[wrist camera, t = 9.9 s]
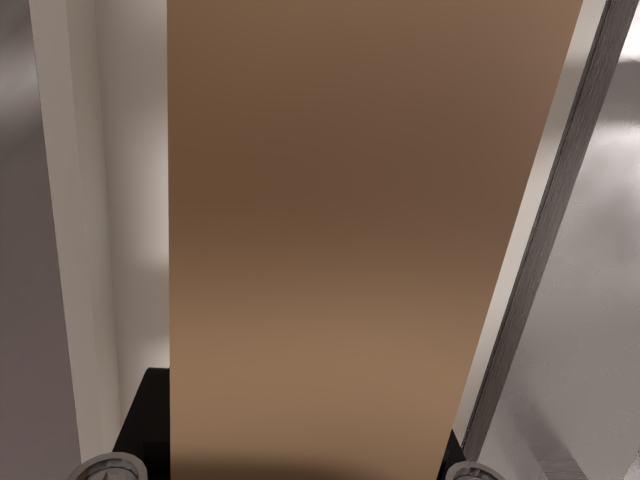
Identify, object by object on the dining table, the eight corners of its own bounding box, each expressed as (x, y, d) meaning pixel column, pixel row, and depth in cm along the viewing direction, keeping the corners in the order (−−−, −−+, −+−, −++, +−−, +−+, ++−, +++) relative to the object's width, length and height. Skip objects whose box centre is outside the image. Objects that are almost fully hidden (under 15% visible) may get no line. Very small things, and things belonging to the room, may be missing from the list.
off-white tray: (50, -278, 10) (-13, -364, 8) (603, -168, 12) (676, -216, 10) (115, 532, 21) (96, 589, 19) (401, 535, 23) (414, 589, 20)
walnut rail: (227, -190, 7) (162, -463, 3) (481, -141, 7) (683, -328, 4) (199, 649, 15) (173, 840, 12) (318, 646, 16) (328, 830, 12)
